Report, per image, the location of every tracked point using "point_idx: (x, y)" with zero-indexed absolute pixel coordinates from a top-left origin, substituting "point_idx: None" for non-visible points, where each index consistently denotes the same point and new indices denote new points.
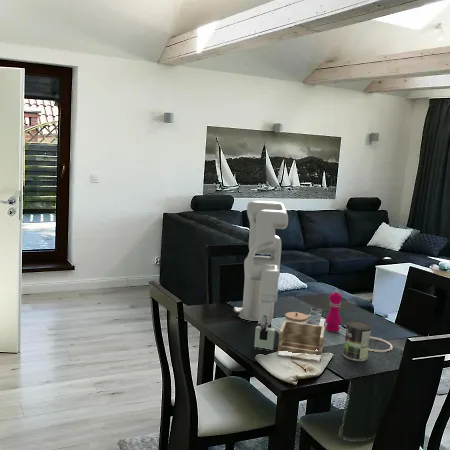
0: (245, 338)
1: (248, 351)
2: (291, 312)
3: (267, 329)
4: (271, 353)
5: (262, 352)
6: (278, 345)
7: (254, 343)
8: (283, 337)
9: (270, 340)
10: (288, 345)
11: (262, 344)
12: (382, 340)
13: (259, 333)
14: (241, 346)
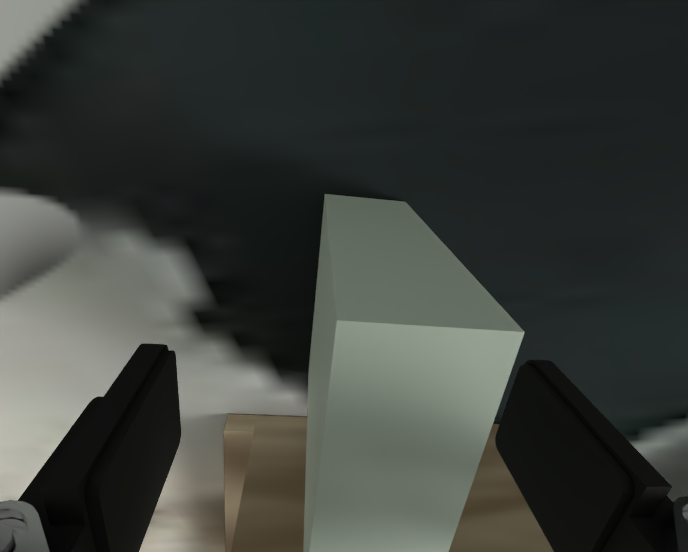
0: (632, 50)
1: (193, 134)
2: None
3: (338, 535)
4: (244, 369)
5: (233, 292)
6: (243, 488)
7: (326, 209)
8: None
9: (308, 431)
10: None
11: (317, 308)
12: None
13: (323, 343)
14: (331, 15)
